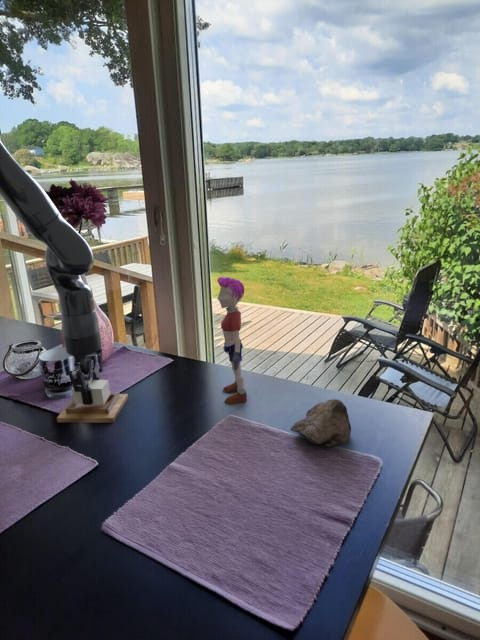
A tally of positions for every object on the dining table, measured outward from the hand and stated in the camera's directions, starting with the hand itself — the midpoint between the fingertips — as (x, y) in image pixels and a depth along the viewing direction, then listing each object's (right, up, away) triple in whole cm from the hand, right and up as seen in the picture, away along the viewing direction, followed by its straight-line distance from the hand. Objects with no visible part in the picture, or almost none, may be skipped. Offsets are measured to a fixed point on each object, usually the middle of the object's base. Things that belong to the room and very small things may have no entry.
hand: (92, 398), depth 103 cm
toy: (+34, 0, +5) cm, 34 cm away
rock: (+51, -6, -12) cm, 53 cm away
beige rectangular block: (0, 0, 0) cm, 0 cm away
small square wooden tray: (0, -3, +1) cm, 3 cm away
